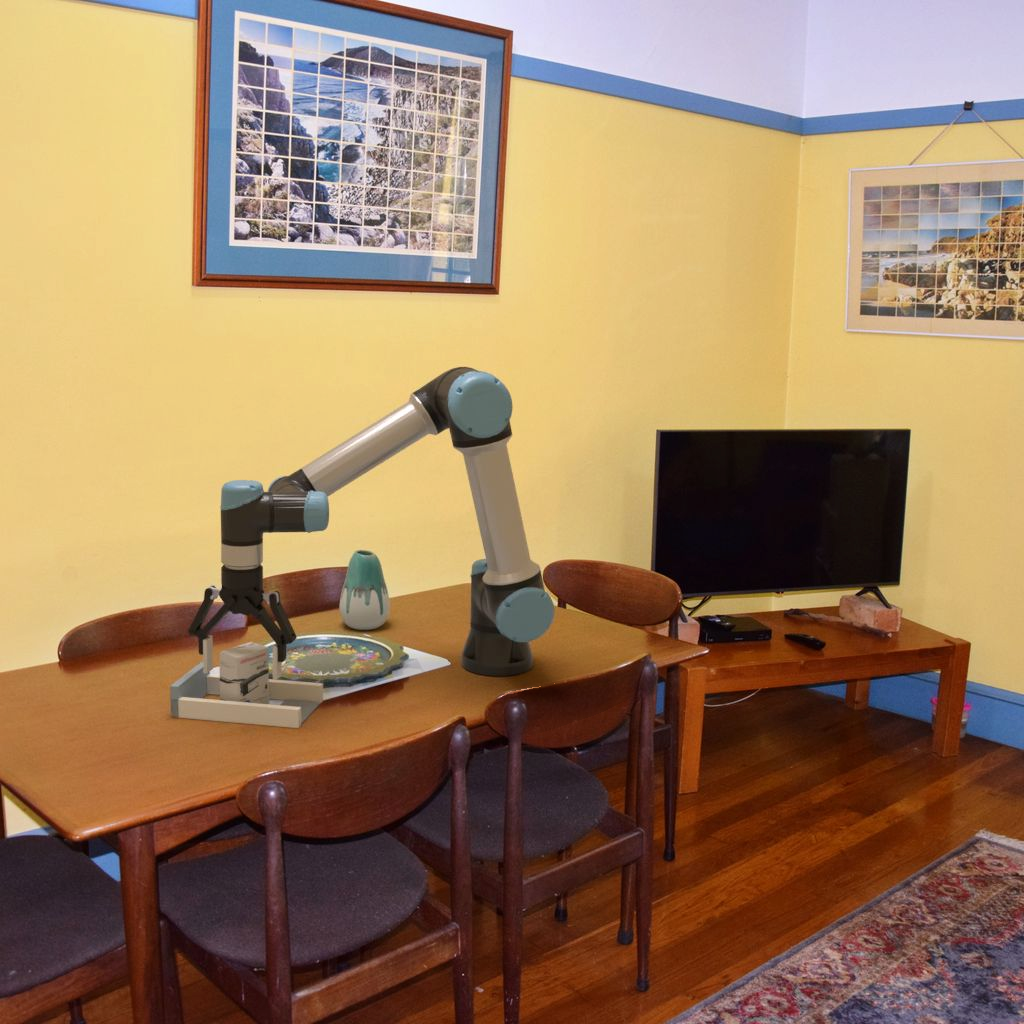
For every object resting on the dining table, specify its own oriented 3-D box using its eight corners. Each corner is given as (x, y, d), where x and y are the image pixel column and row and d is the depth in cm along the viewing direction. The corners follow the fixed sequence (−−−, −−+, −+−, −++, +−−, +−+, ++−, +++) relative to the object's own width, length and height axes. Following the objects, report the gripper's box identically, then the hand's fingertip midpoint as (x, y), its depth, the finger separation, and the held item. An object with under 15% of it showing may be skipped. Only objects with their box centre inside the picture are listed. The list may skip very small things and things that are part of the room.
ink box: (238, 718, 223) (237, 657, 221) (219, 712, 226) (217, 652, 223) (270, 704, 230) (269, 645, 228) (251, 699, 233) (250, 640, 231)
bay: (323, 700, 233) (323, 671, 232) (298, 728, 219) (298, 696, 218) (203, 690, 237) (202, 661, 236) (171, 716, 223) (170, 686, 222)
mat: (320, 704, 231) (320, 702, 231) (301, 724, 221) (301, 722, 221) (285, 701, 232) (285, 699, 232) (265, 721, 222) (265, 719, 222)
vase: (399, 624, 283) (400, 550, 279) (368, 636, 273) (368, 560, 270) (361, 616, 289) (361, 543, 285) (329, 627, 279) (328, 552, 276)
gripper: (313, 565, 224) (312, 674, 228) (186, 554, 228) (188, 662, 232) (300, 574, 217) (299, 687, 221) (169, 563, 221) (171, 674, 225)
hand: (242, 674), depth 227 cm, fingers open, 13 cm apart
